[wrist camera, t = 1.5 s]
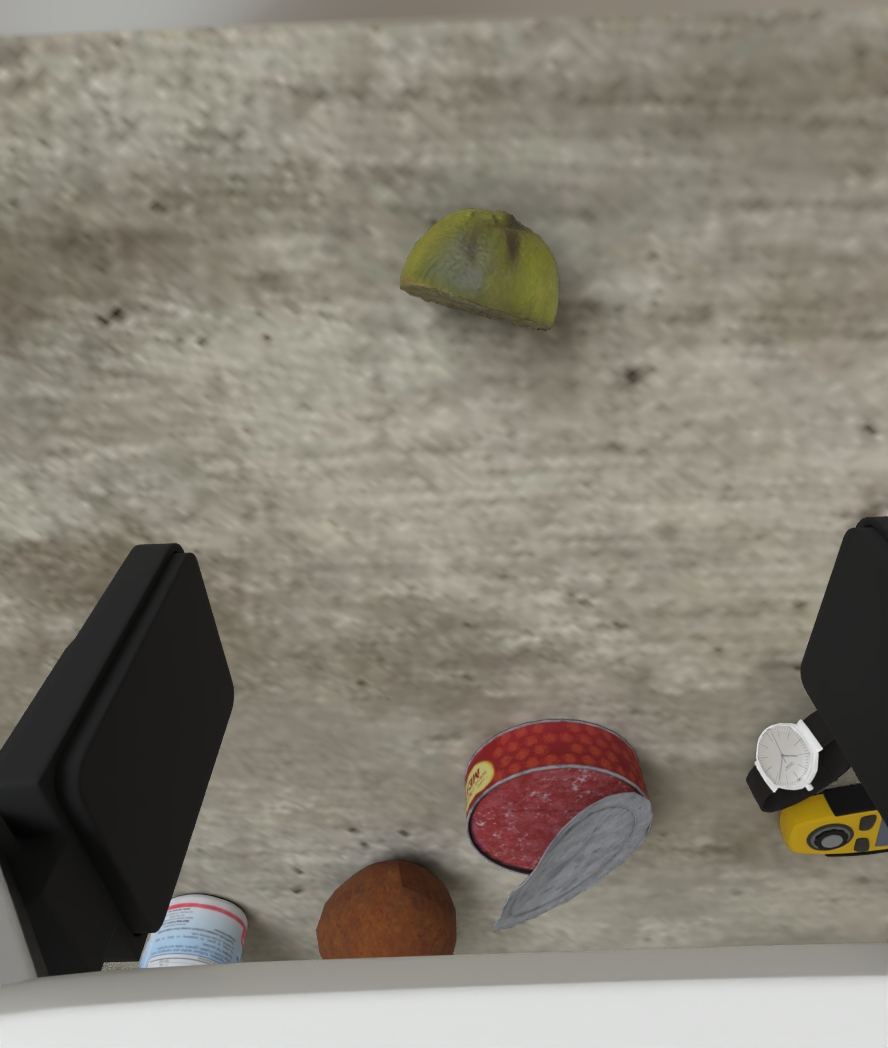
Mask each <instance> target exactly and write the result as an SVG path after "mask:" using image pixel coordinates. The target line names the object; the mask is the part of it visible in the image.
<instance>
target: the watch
mask: <svg viewBox="0 0 888 1048" xmlns="http://www.w3.org/2000/svg"><path fill="white" fill-rule="evenodd" d="M756 759H757V761H755V762H754V763H755V766H754V767H753V768H752V770H751V771H750V772H749V774H748V776H747V778H746V782H747V784H748V785H749V788H750V790H751V792H752V794H753V796H754V798H755V799H756V801H757V803H758V805H759V806H760V809H761V810H762V811H764V812H775V811H779V810H783V809H785V808H788V807H790V806H793V805H795V804H797V803H799V802H801V801H803V800H805V799H807V798H808V797H810V796H812V795H814V794H815V793H817V792H818V791H820V790H821V789H823V788H824V787H826V786H828V785H829V784H830V783H832V782H833V781H836V780H838V779H837V778H838V777H840V776H841V775H842V774H844V773H845V772H846V771H847V770H848V769H849V768H850V767H851V765H850V764H849V762H848V760H847V759H846V757H845V755H844V754H843V752H842V750H841V749H840V747H839V745H838V744H837V742H836V740H835V739H834V737H833V735H832V734H831V732H830V730H829V729H828V727H827V725H826V724H825V722H824V720H823V719H822V717H821V715H820V714H819V712H818V710H817V711H815V712H814V713H812V714H811V715H809V716H808V717H807V718H806V719H804V720H803V721H802V720H801V719H800V720H799V721H798V723H797V724H793V723H778V724H774V725H771V726H769V727H768V728H766V729H765V730H764V731H763V732H762V734H761V735H760V737H759V740H758V743H757V751H756Z"/></svg>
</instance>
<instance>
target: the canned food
mask: <svg viewBox="0 0 888 1048" xmlns="http://www.w3.org/2000/svg"><path fill="white" fill-rule="evenodd" d="M465 788H466V814H467V821H466V829H467V835H468V838H469V840H470V842H471V844H472V846H473V847H474V848H475V850H476V851H477V852H478V853H479V854H480V855H481V856H482V857H484V858H485V859H486V860H487V861H489V862H490V863H492V864H494V865H496V866H498V867H500V868H502V869H505V870H508V871H511V872H514V873H518V874H523V875H529V876H528V877H527V879H526V880H525V881H524V882H523V883H522V884H521V885H519V886H518V887H517V888H516V889H515V890H513V891H512V892H511V893H510V895H509V897H508V898H507V900H506V902H505V904H504V906H503V909H502V912H501V914H500V917H499V919H498V920H497V922H496V923H495V924H494V926H493V928H494V930H495V932H496V931H499V930H501V929H505V928H512V927H514V926H516V925H517V924H519V923H521V922H523V921H525V920H529V919H532V918H536V917H538V916H540V915H541V914H543V913H545V912H547V911H548V910H550V909H552V908H554V907H556V906H559V905H561V904H564V903H566V902H568V901H569V900H571V899H572V898H574V897H575V896H576V895H578V894H579V893H581V892H582V891H584V890H586V889H587V888H589V887H591V886H593V885H595V884H597V883H598V882H599V881H600V880H601V879H602V878H604V877H605V876H606V875H607V874H608V873H609V872H610V871H612V870H613V869H614V868H616V867H617V866H619V865H620V864H621V863H623V862H624V861H625V860H626V859H627V857H628V856H629V855H630V854H631V853H632V852H633V851H634V850H636V849H637V848H638V847H639V846H640V845H641V843H642V842H643V841H644V840H645V839H646V837H647V835H648V833H649V831H650V829H651V825H652V819H653V813H652V807H651V802H650V800H649V798H648V794H647V791H646V787H645V784H644V780H643V777H642V773H641V769H640V766H639V760H638V758H637V756H636V754H635V752H634V750H633V748H632V747H631V746H630V745H629V744H628V743H627V742H626V741H625V740H624V739H623V738H622V737H620V736H619V735H617V734H616V733H614V732H613V731H611V730H608V729H606V728H604V727H601V726H599V725H596V724H592V723H588V722H584V721H578V720H567V719H553V720H541V721H535V722H530V723H525V724H522V725H519V726H516V727H513V728H510V729H508V730H506V731H504V732H502V733H500V734H498V735H496V736H494V737H493V738H491V739H490V740H489V741H487V742H486V743H484V744H483V745H482V746H481V747H480V748H479V749H478V751H477V752H476V753H475V754H474V755H473V757H472V759H471V760H470V762H469V764H468V766H467V770H466V774H465Z"/></svg>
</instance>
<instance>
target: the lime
mask: <svg viewBox="0 0 888 1048" xmlns="http://www.w3.org/2000/svg"><path fill="white" fill-rule="evenodd" d="M558 284H559V281H558V272H557V267H556V262H555V259H554V257H553V255H552V253H551V252H550V250H549V248H548V247H547V245H546V244H545V243H544V241H543V240H542V239H541V237H540V236H539V235H537V234H535V233H534V232H533V231H532V230H530V229H529V228H527V227H525V226H524V225H522V224H521V223H520V222H518V221H517V220H516V219H515V218H514V217H513V215H511V214H509V213H507V212H504V211H496V212H495V211H494V212H491V211H489V210H482V209H465V210H460V211H457V212H454V213H452V214H450V215H448V216H447V217H445V218H443V219H441V220H440V221H439V222H437V223H436V224H434V225H433V227H431V228H430V229H429V230H428V231H427V232H426V233H425V234H424V235H423V236H422V237H421V238H420V239H419V240H418V242H417V243H416V244H415V245H414V248H413V249H412V251H411V253H410V255H409V256H408V258H407V261H406V263H405V265H404V267H403V271H402V275H401V280H400V289H401V290H404V291H406V292H407V293H408V294H409V295H412V296H416V297H420V298H421V299H423V300H424V301H427V302H430V301H432V302H435V303H437V304H441V305H445V306H447V307H451V308H455V309H462V310H465V311H469V312H473V313H476V314H478V315H481V316H486V317H488V318H490V319H491V318H493V319H498V320H502V321H509V322H511V323H513V324H517V325H518V326H521V327H527V328H531V329H537V330H539V329H540V328H541V329H542V330H543V331H546V330H550V329H551V328H552V326H553V323H554V320H555V317H556V313H557V309H558V302H559V290H558Z"/></svg>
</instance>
